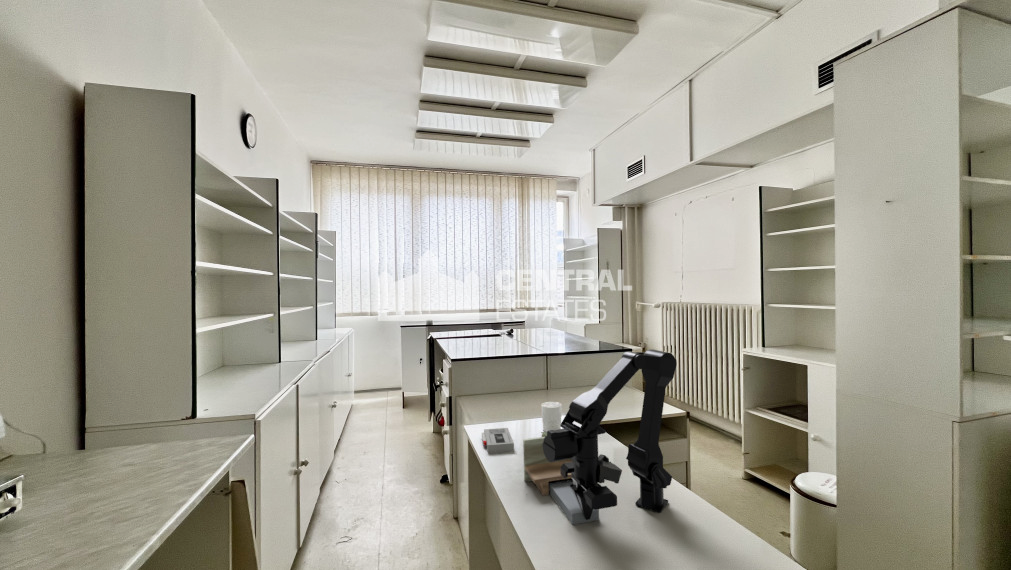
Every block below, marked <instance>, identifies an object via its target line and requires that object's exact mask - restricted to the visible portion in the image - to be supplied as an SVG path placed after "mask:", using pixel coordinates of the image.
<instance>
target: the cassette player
mask: <svg viewBox="0 0 1011 570" xmlns="http://www.w3.org/2000/svg"><path fill="white" fill-rule="evenodd" d="M481 438H482V439H481V440H482V442H483V446H484V447H486V451H487V454H493V453H506V452H507V453H508V452H514V451H515V443H514V440H513V438H512V436H511V432H510V430H509V427H498V428H485V429H483V432H481Z"/></svg>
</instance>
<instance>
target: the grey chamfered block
mask: <svg viewBox="0 0 1011 570" xmlns="http://www.w3.org/2000/svg"><path fill="white" fill-rule="evenodd" d="M572 484H573V480H563V481H562V480H561V481H555V482H548V487H549V495H550V497H551V498H552V499H553V500H554V502H555V503H556V505H557V506H558V507H559V509H560V510H561V512H563V514H564V515H565V517H566V518H567V519H568V521H569V522H570V524H571V525H578V524H582V523H588V522H594V521H600V509H597V510H594V509H593V511H592V515H591V518H590V519H589V520H586V519H585V518H584V516H583V513H582V511H581V509H580V507H579V504H578V502H577V500H576V498H575V496H574V494H573V491H572V489H571V488H570V485H572Z"/></svg>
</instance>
